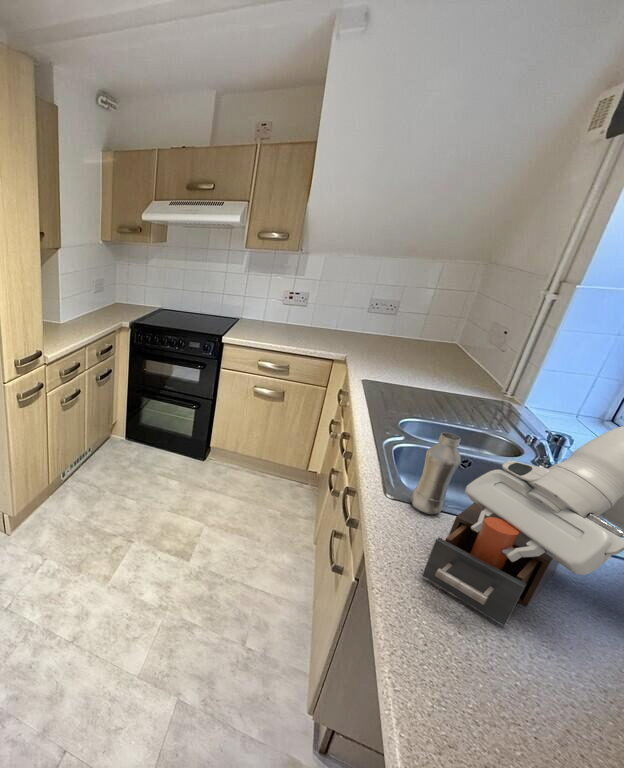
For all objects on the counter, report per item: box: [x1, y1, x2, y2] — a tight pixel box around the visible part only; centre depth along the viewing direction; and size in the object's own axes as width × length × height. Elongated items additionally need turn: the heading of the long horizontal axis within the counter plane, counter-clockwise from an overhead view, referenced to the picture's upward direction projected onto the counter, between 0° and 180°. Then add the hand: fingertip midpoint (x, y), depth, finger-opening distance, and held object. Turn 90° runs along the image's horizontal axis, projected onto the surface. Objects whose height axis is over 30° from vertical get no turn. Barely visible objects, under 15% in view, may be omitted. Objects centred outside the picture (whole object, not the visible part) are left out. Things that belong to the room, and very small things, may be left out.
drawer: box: [421, 524, 542, 627], centre depth 75 cm, size 20×12×9 cm, turn 122°
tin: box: [470, 517, 519, 571], centre depth 74 cm, size 5×5×9 cm
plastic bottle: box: [410, 432, 462, 515], centre depth 96 cm, size 6×7×20 cm
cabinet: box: [448, 502, 560, 608], centre depth 82 cm, size 17×14×11 cm
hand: (490, 544), depth 73 cm, fingers closed on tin, 5 cm apart
